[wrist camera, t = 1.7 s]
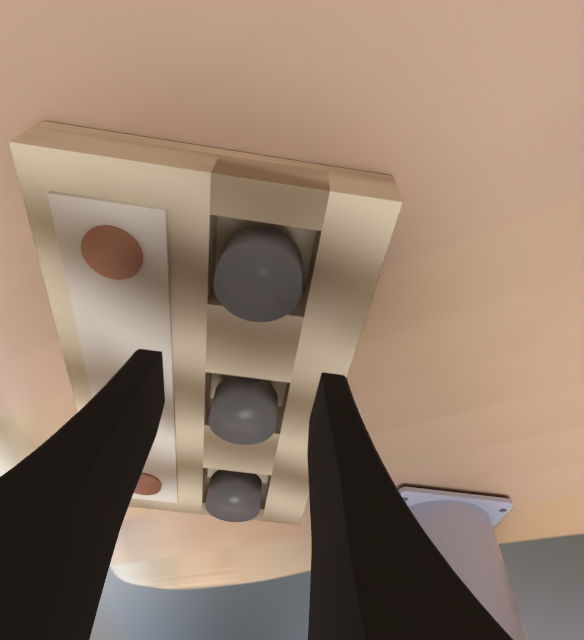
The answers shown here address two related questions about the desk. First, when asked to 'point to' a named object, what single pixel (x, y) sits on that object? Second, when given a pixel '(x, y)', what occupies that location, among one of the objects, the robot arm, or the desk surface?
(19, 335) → the desk surface
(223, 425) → the middle button
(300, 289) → the button
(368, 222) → the button board
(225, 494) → the button
